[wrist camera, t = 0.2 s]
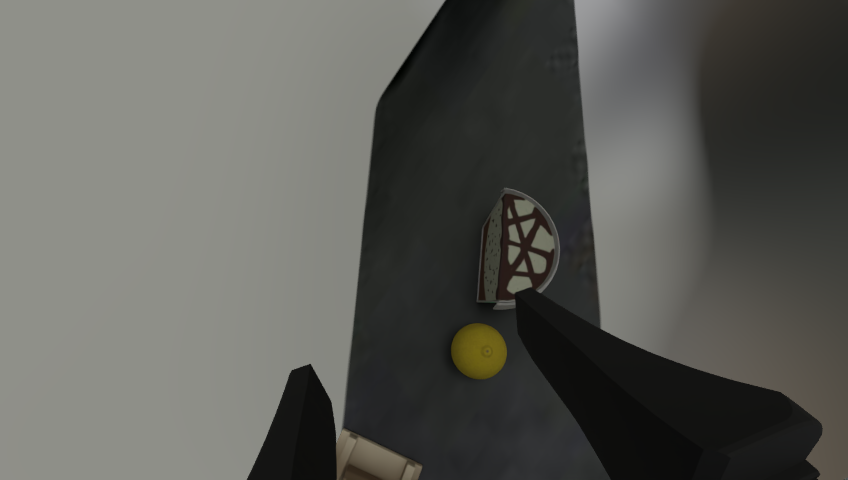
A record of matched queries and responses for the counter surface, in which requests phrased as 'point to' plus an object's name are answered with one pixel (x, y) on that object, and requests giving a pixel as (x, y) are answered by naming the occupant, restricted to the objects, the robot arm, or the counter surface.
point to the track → (373, 459)
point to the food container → (516, 250)
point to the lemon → (478, 351)
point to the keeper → (357, 474)
